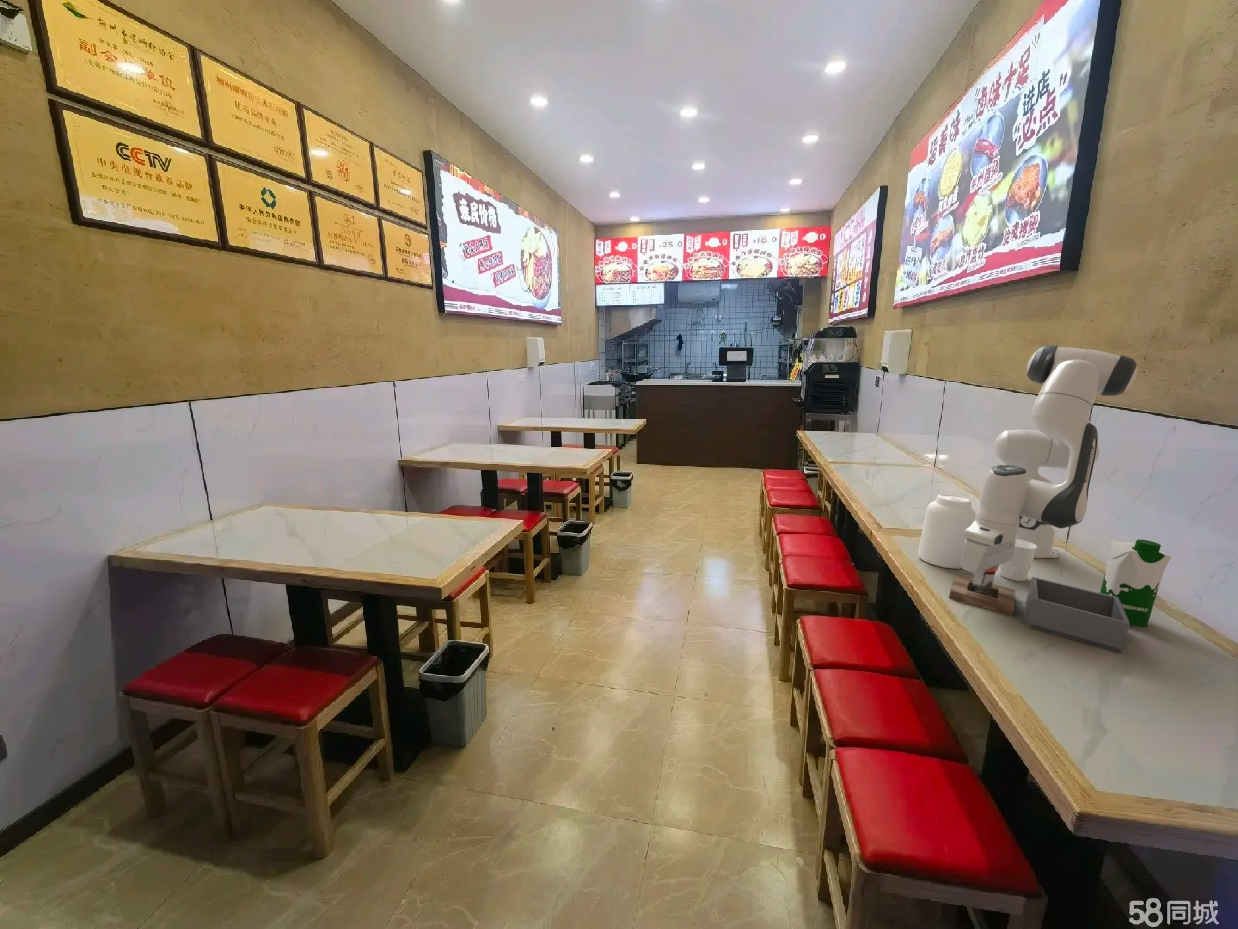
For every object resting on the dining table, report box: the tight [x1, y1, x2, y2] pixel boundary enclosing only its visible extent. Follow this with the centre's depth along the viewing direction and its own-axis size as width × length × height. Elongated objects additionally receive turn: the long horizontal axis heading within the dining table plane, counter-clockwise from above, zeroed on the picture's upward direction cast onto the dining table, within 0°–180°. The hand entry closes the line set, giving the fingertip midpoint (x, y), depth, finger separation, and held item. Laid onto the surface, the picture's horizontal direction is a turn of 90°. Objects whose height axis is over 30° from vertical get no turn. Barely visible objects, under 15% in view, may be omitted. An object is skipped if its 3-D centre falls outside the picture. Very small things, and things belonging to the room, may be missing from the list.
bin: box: [1025, 576, 1131, 655], centre depth 118 cm, size 16×16×7 cm
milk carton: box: [1099, 539, 1172, 628], centre depth 122 cm, size 9×9×20 cm
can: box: [917, 493, 977, 570], centre depth 152 cm, size 12×12×20 cm
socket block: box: [948, 573, 1016, 617], centre depth 131 cm, size 13×13×2 cm
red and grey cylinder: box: [970, 567, 997, 597], centre depth 130 cm, size 4×4×8 cm
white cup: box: [996, 539, 1037, 582], centre depth 144 cm, size 8×8×10 cm
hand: (983, 581), depth 130 cm, fingers closed on red and grey cylinder, 4 cm apart
